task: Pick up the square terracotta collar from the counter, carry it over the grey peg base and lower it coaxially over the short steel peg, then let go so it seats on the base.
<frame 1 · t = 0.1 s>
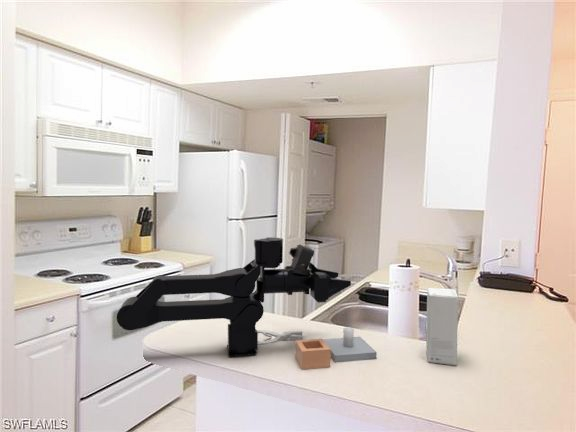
hand: (344, 278, 104), 17 cm above the counter, tool horizontal, fingers open, 9 cm apart
collar: (312, 362, 94), on the counter
grey peg base: (348, 351, 100), on the counter
skincare box: (440, 358, 98), on the counter
pliers: (273, 340, 109), on the counter
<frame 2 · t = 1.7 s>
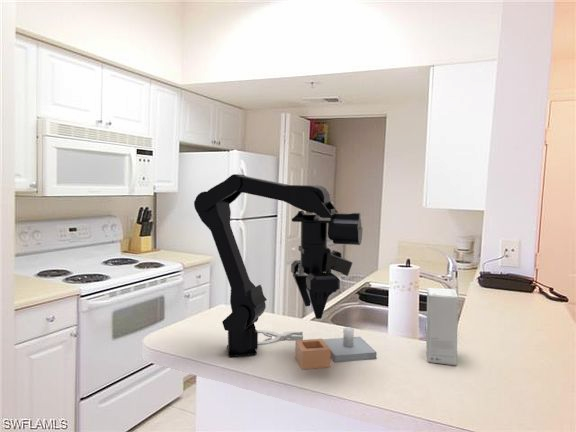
hand: (312, 312, 93), 11 cm above the counter, tool pointing down, fingers open, 9 cm apart
nothing on the counter moved.
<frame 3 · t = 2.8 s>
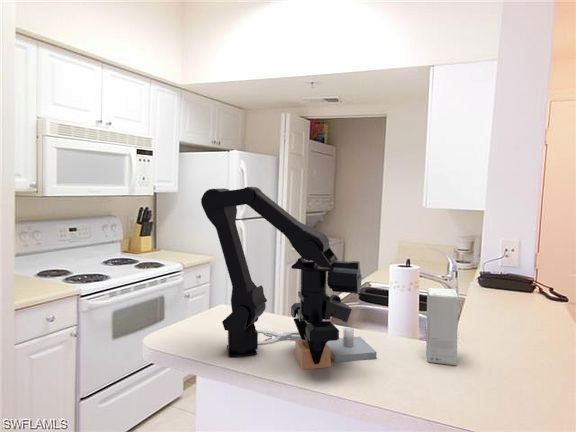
hand: (312, 357, 94), 1 cm above the counter, tool pointing down, fingers closed on collar, 6 cm apart
collar: (312, 362, 94), on the counter, touching gripper
everything else where it was.
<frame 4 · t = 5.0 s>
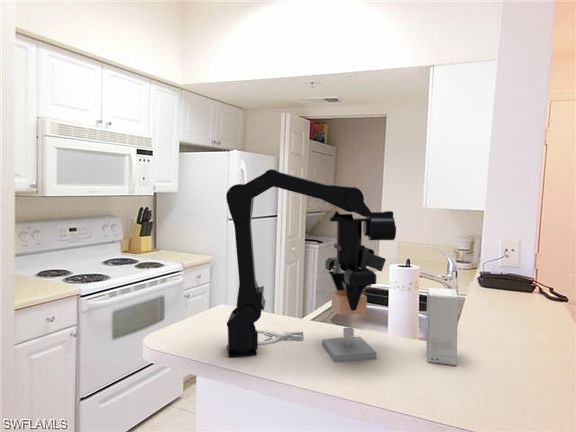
hand: (348, 306, 99), 11 cm above the counter, tool pointing down, fingers closed on collar, 6 cm apart
collar: (348, 310, 99), point 10 cm above the counter, touching gripper
everything else where it was.
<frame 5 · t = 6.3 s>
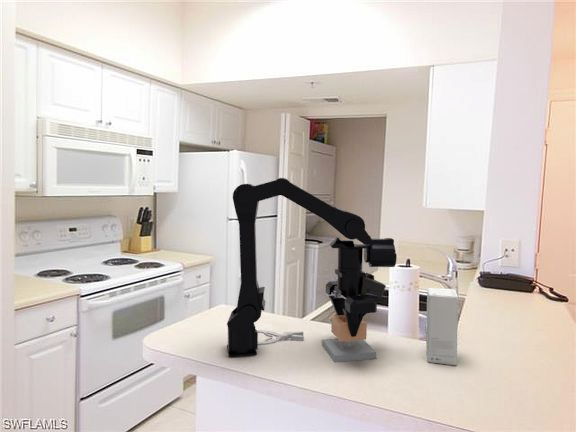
hand: (348, 331, 100), 5 cm above the counter, tool pointing down, fingers closed on collar, 6 cm apart
collar: (348, 335, 100), point 4 cm above the counter, touching gripper
everything else where it was.
when the fingers open (3 cm above the counter, at t = 7.0 s): collar stays where it is, resting on grey peg base.
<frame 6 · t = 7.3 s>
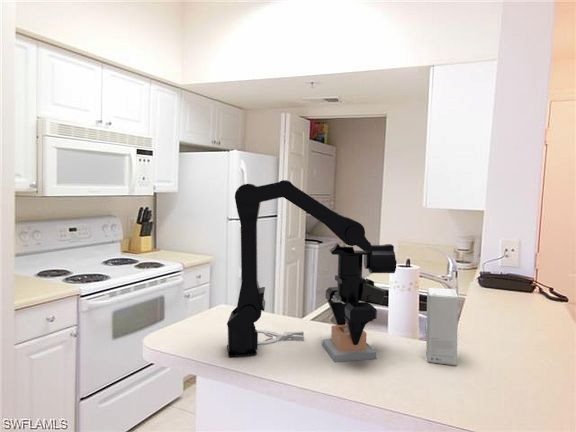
hand: (348, 337, 100), 3 cm above the counter, tool pointing down, fingers open, 9 cm apart
collar: (348, 345, 100), point 1 cm above the counter, touching grey peg base
everything else where it was.
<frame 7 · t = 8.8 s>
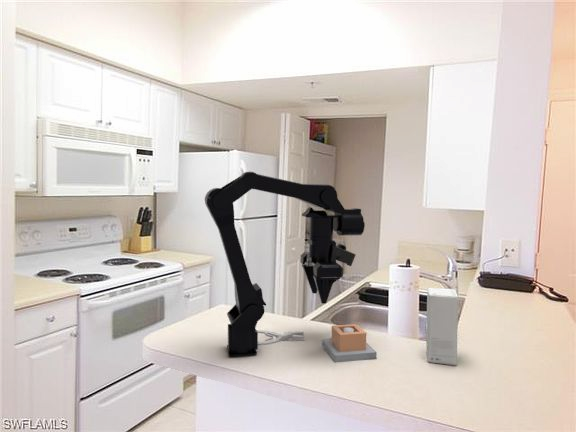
hand: (319, 298, 104), 12 cm above the counter, tool pointing down, fingers open, 9 cm apart
nothing on the counter moved.
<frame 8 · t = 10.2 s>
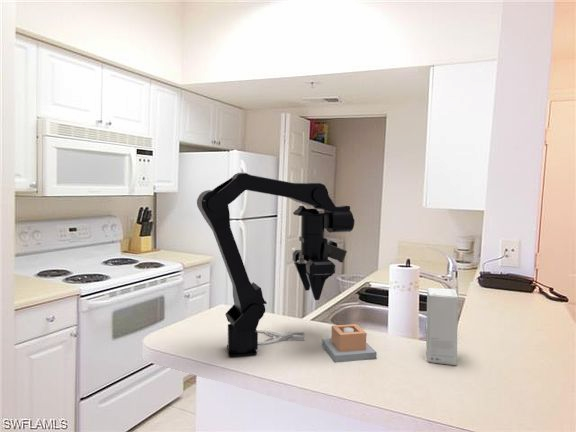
hand: (311, 294, 106), 12 cm above the counter, tool pointing down, fingers open, 9 cm apart
nothing on the counter moved.
at the end: collar 0.0 cm off-centre on the grey peg base, point 1.5 cm above the grey peg base's base; the gripper is holding nothing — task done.
